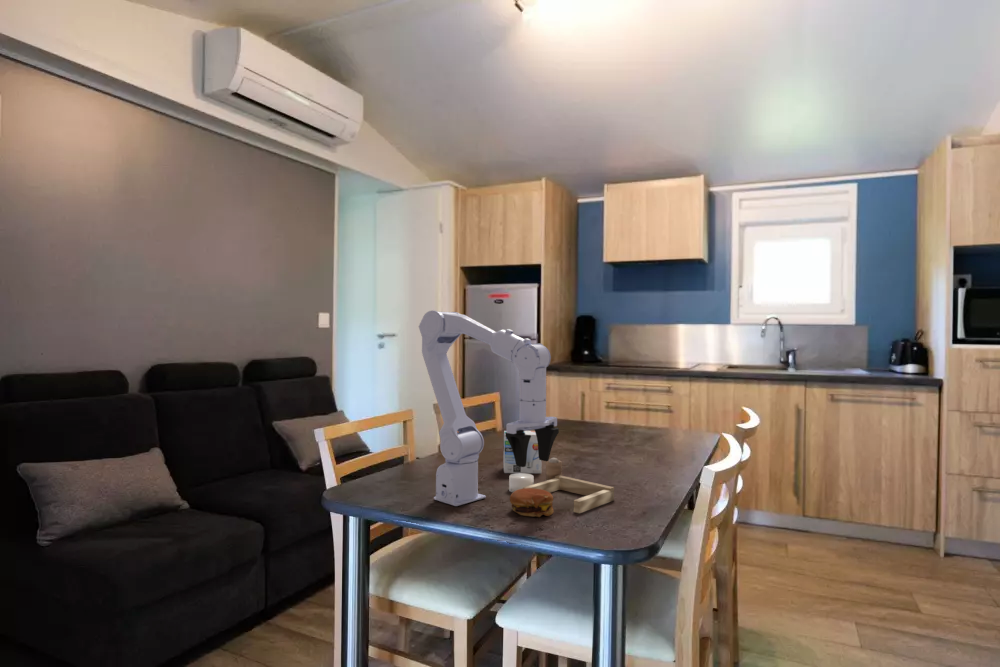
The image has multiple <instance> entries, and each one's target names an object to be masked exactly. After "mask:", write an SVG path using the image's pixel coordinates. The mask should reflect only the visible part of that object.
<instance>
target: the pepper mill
mask: <svg viewBox="0 0 1000 667" xmlns="http://www.w3.org/2000/svg"><path fill="white" fill-rule="evenodd" d="M558 475H561V476H563V461H561V460H559V459H558V458H557V457H551V458H549V460H548V461H545V481H547V480H551V479H554V478H555V476H558Z"/></svg>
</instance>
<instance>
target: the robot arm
mask: <svg viewBox="0 0 1000 667" xmlns="http://www.w3.org/2000/svg"><path fill="white" fill-rule="evenodd" d="M418 329H419V332H420V335H421V355H422V357H423V360H424V365H425V366H426V370H427V374H428V377H429V379H430V383H431V387H432V390H433V392H434V396H435V399H436V401H437V405H438V408H439V412H440V415H441V417H442V422H443V424H442V426H441V428H440V429H439V432H438V434H439V438H440V446H439V447H440V448H439V449H440V451H441V455H442V456H443V458H444V459H445V462H444V463H442V464H440V465H439V466H438V467H437V469H436V471H435V472H436V473H435V496H433V499H434V500H435V501H439V502H441V503H443V504H447V505H451V506H454V507H458V506H462V505H466V504H468V503H472V502H476V501H479V500H482V499H486V498H487V496H486V495H485V494H481V493H479V490H478V489H479V484H478V483H479V459H480V454H481V452H482V450H483V449H484V446H485V440H484V437H483V434H482V433H481V431H480V430H479V429H478V428H477V426H476V423H475V421H474V420H473V419H471V418H470V417H469V416H467V413H466V410H465V407H464V404H463V402H462V398H461V395H460V392H459V389H458V386H457V382H456V380H455V377H454V373H453V371H452V367H451V365H450V360H449V357H448V351H449V349H450V348H451V347H452V345H453V344H454V343H455V342H456V341H458V340H457V339H459V337H460V336H461V335H466V336H469V337H471V338H473V339H475V340H478V341H480V342H482V343H485V344H486V345H489V347H490V350H491V353H493V354H495V355H496V356H499V357H501V358H502V359H505V360H507V361H509V362H511V363H513V364H515V366H516V368H517V370H518V374H519V375H518V376H519V417H518V418H519V420H518V419H517V420H516V421H512V422H509V423H506V427H505V428H506V430H505V431H506V438H507V439H508V441H509V443H510V445H511V448H512V451H513V454H514V458H515V462H516V466H520V467H525V466H526V460H527V449H528V444H529V440H530V438H531V435H526V434H525V433H524V431H535V433H536V436H537V441H538V454H539V460H542V462H546V461H548V460H550V456H551V452H552V448H553V446H554V442H555V440H556V438H557V436H558V434H559V432H560V429H559V428H558V427H557V426H558V417H556V416H547V367H549V365H550V363H551V359H552V356H551V353H550V349H548V348H547V347H546V346H545V345H544V344H543V343H534V344H532V340H531V339H530V338H528V337H527V338H523V337H521V336H518V335H516V334H514V332H515V331H514V330H512V329H510V328H507V329H500V330H497V331H495V330H494V329H492V328H490V327H488V326H486V325H484V324H482V323H481V322H479V321H477V320H475V319H473V318H471V317H469V316H467V315H466V314H461V313H460V312H457V311H437V310H434V309H433V310H429V311H427V312H426V313H424V315H423V316H422V319H421V320H420V323H419V325H418Z"/></svg>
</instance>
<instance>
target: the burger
mask: <svg viewBox="0 0 1000 667" xmlns="http://www.w3.org/2000/svg"><path fill="white" fill-rule="evenodd" d="M509 502H510V504H511V509H512V511H513V512H515V513H516V514H518V515H520V516H523V517H532V518H533V517H536V518H540V517H542V516H543V515H544V516H546V517H550V516H551V515H553V514H554V508H553V502H554V496H553V495H552V492H550V493H549V492H548V491H545V490H542V489H534V488H524V489H518V490H516V491H514V492H511V494H510V496H509Z"/></svg>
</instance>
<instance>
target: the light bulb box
mask: <svg viewBox="0 0 1000 667" xmlns="http://www.w3.org/2000/svg"><path fill="white" fill-rule="evenodd" d="M524 433H525V434H526V435H531V438H530V440H529V444H528V449H527V460H526V466H525V467H520V466H516V462H515V458H514V454H513V451H512V448H511V445H510V443H509V441H508V439H507V438H506V430H503V457H502V458H503V459H502V460H503V461H502V462H503V465H502V466H503V473H504V474H516V473H526V474H542V467H543V466H542V465H543V463H542V462H543V460H539V454H538V441H537V436H536V433H535V430H528V431H524Z"/></svg>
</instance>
